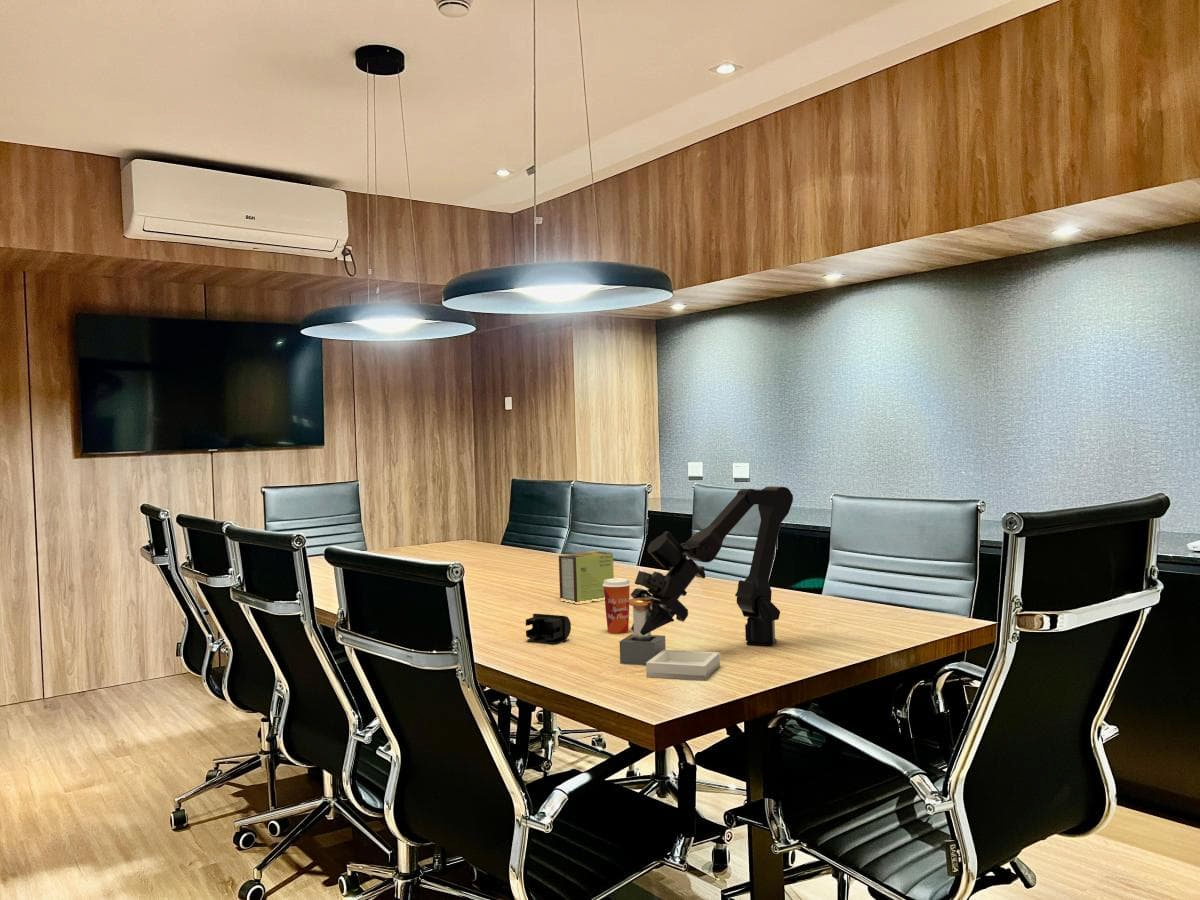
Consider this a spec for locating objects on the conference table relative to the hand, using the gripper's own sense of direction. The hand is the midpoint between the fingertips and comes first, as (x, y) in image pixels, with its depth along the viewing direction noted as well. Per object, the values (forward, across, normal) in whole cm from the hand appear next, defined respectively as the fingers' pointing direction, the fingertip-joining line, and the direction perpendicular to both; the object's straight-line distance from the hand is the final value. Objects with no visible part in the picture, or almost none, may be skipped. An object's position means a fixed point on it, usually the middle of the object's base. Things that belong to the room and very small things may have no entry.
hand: (637, 632), depth 205 cm
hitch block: (+4, 0, +6) cm, 7 cm away
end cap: (+12, -33, -2) cm, 35 cm away
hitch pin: (+4, 0, +6) cm, 7 cm away
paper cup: (-3, -33, +13) cm, 36 cm away
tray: (+2, +14, +8) cm, 16 cm away
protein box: (-13, -86, +23) cm, 90 cm away
